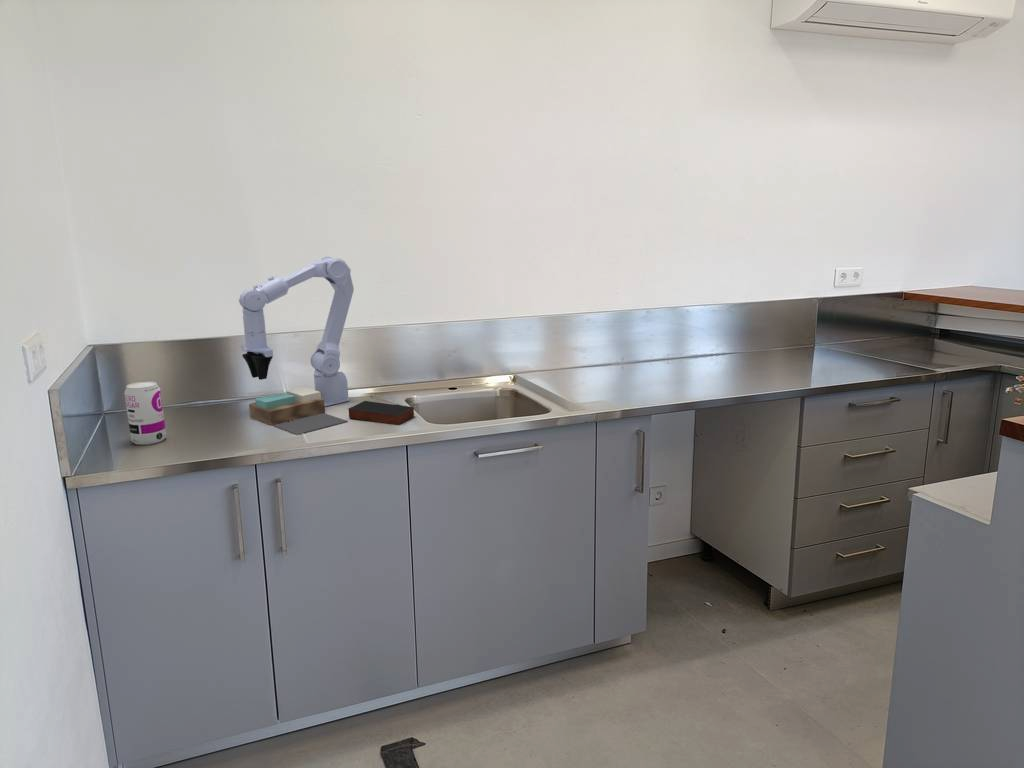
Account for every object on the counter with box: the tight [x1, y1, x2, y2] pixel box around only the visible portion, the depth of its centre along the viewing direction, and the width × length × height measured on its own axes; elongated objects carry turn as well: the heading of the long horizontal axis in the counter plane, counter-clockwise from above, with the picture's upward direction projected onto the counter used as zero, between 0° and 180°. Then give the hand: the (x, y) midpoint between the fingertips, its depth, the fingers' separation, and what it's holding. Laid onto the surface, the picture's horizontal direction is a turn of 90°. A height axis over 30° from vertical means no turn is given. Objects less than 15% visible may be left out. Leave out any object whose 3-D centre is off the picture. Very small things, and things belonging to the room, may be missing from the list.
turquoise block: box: [254, 392, 295, 409], centre depth 207 cm, size 9×6×2 cm, turn 137°
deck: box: [248, 399, 326, 427], centre depth 210 cm, size 17×12×4 cm
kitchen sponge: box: [348, 395, 415, 426], centre depth 210 cm, size 19×3×15 cm
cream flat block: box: [285, 386, 321, 403], centre depth 214 cm, size 9×6×2 cm, turn 47°
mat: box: [272, 412, 349, 435], centre depth 202 cm, size 16×12×1 cm
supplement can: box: [124, 381, 167, 446], centre depth 187 cm, size 8×8×15 cm
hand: (259, 378), depth 211 cm, fingers open, 3 cm apart
